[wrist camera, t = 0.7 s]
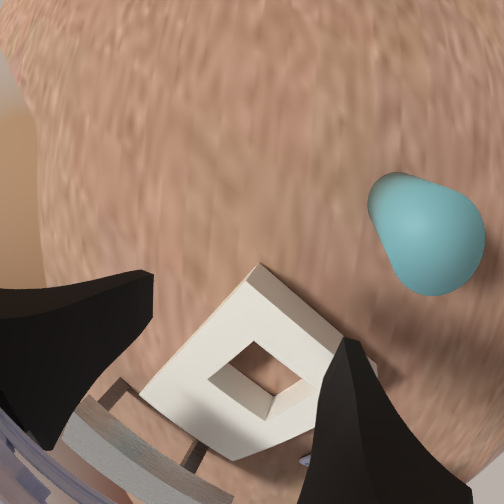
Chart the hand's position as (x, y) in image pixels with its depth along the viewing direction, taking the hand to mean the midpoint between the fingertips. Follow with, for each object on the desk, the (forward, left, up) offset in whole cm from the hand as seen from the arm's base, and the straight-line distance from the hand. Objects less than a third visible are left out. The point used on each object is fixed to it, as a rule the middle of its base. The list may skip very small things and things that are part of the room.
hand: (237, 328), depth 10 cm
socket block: (-5, +11, -10) cm, 16 cm away
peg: (-3, -7, -10) cm, 12 cm away
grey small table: (-3, +21, -10) cm, 24 cm away
